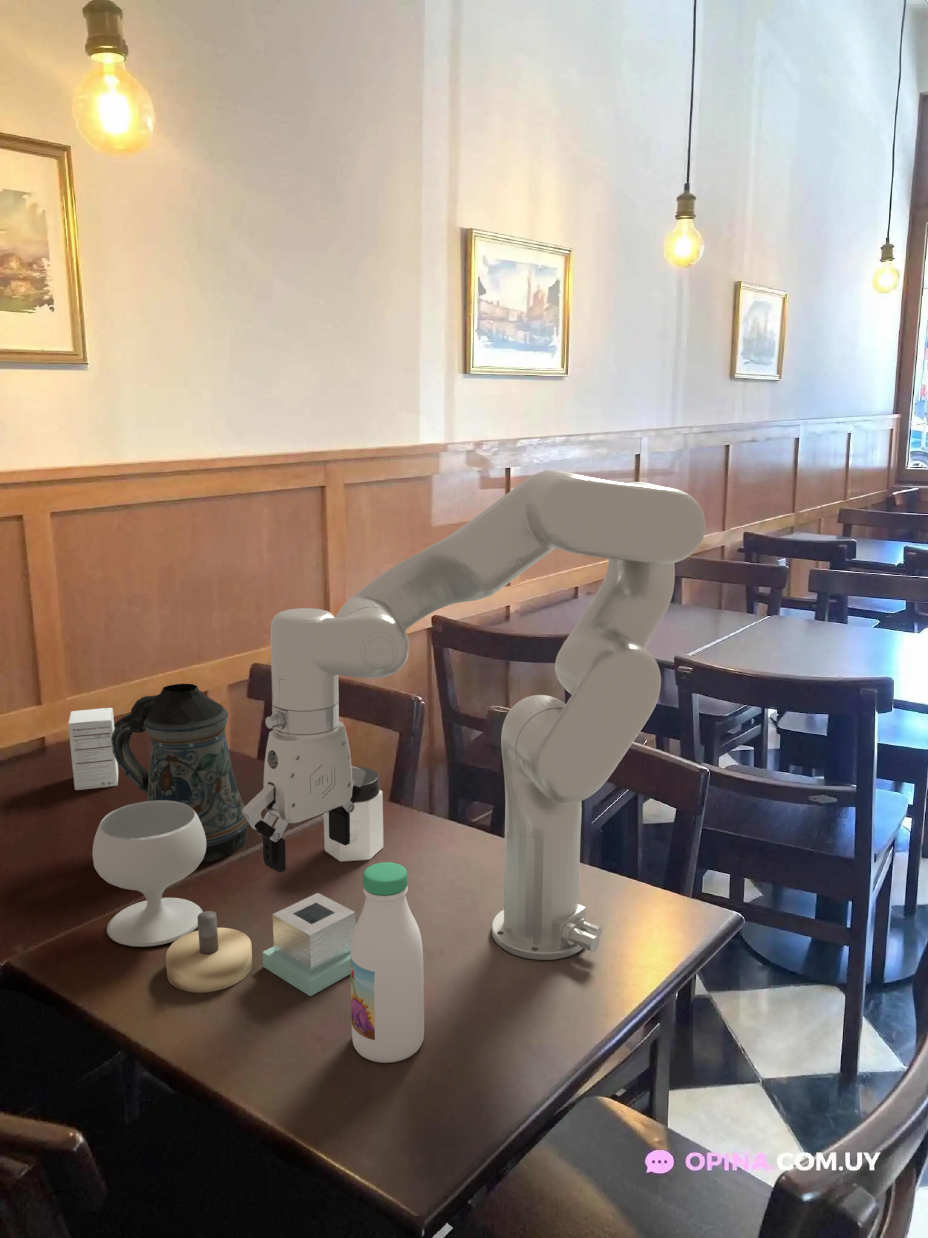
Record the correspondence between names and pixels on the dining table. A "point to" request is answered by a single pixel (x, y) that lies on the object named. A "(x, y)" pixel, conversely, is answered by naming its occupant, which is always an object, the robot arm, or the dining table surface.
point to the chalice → (150, 868)
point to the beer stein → (186, 762)
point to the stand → (303, 978)
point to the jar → (361, 823)
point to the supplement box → (92, 748)
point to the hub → (209, 957)
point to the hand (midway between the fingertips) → (308, 854)
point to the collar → (313, 932)
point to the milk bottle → (386, 970)
